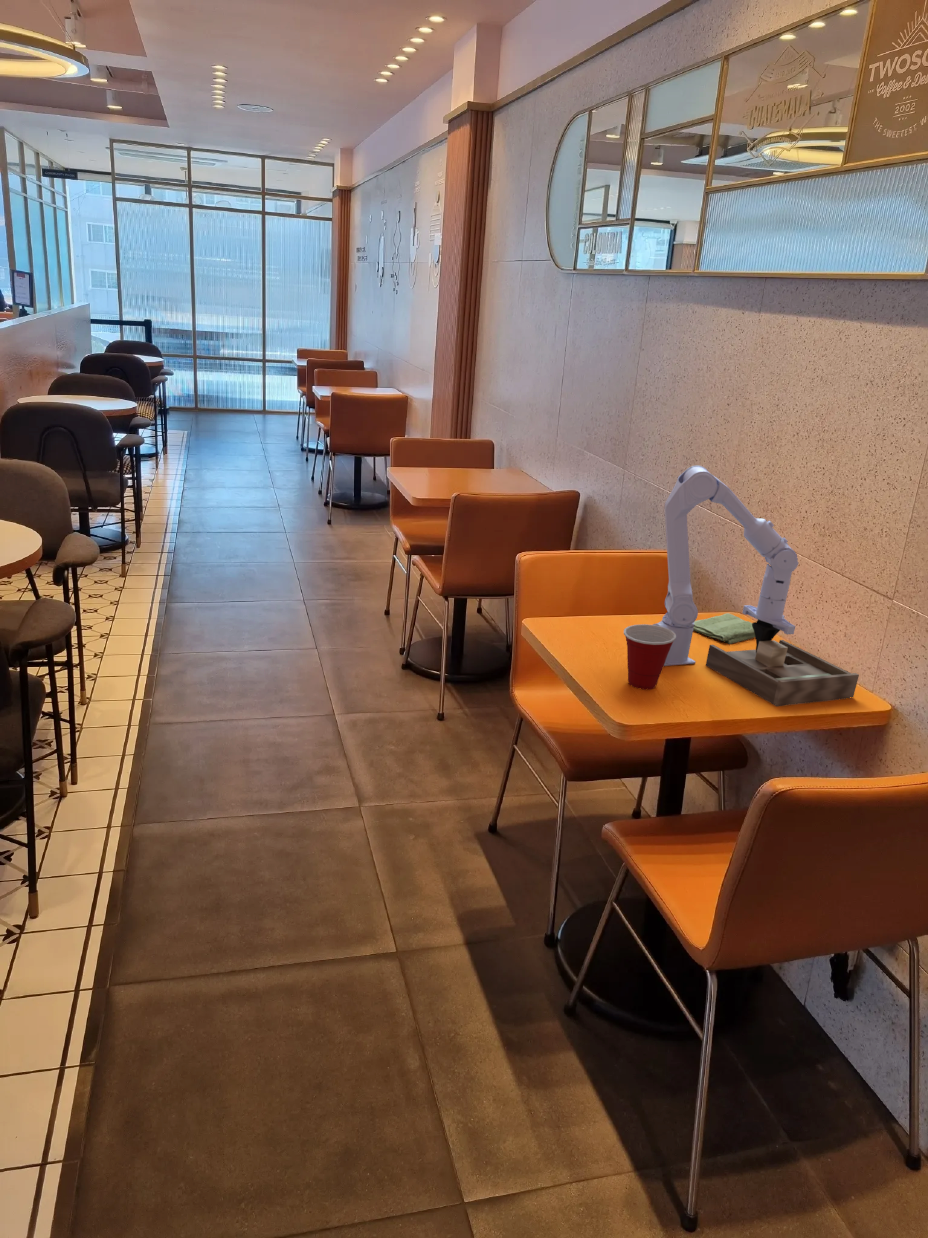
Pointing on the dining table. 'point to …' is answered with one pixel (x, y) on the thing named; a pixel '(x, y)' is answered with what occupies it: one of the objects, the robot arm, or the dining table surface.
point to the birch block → (771, 653)
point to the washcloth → (725, 628)
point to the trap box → (785, 676)
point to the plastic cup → (647, 653)
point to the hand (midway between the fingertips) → (760, 653)
